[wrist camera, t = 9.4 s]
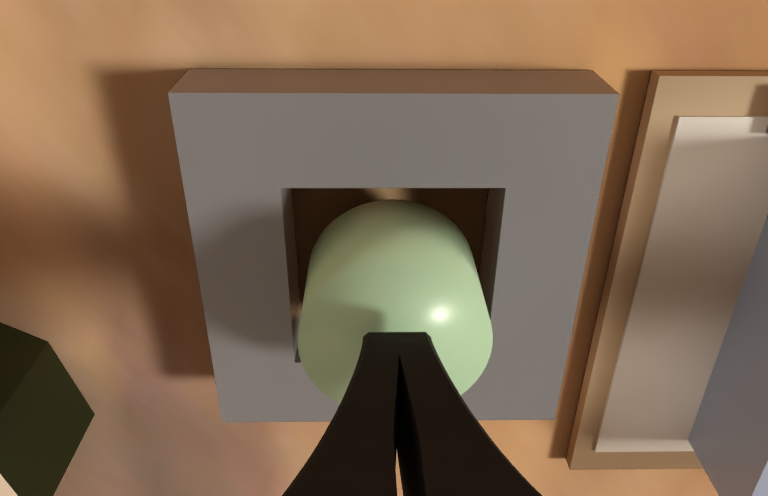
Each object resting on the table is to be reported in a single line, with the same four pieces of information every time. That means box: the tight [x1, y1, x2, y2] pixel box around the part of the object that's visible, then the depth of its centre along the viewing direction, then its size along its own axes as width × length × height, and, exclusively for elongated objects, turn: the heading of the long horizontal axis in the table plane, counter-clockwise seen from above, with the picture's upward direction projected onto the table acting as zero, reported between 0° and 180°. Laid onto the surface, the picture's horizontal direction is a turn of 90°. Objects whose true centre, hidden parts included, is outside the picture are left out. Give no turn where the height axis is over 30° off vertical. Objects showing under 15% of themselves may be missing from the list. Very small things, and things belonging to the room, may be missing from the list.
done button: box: [298, 199, 493, 404], centre depth 16 cm, size 4×4×3 cm
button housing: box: [168, 69, 619, 422], centre depth 17 cm, size 10×10×2 cm
